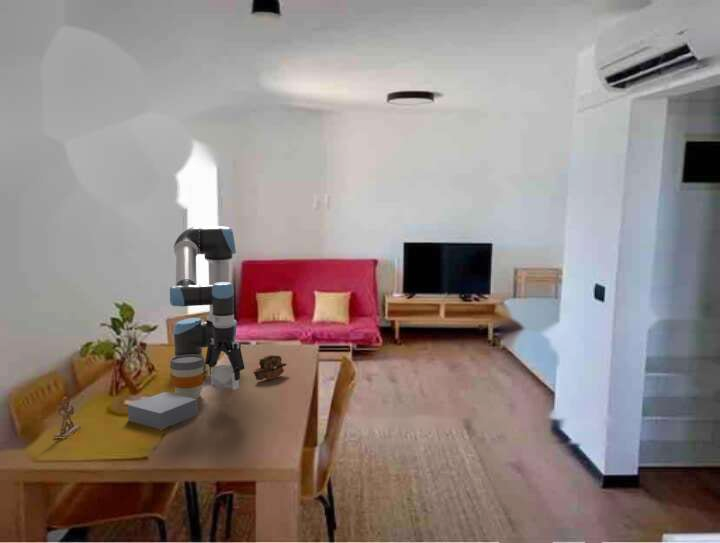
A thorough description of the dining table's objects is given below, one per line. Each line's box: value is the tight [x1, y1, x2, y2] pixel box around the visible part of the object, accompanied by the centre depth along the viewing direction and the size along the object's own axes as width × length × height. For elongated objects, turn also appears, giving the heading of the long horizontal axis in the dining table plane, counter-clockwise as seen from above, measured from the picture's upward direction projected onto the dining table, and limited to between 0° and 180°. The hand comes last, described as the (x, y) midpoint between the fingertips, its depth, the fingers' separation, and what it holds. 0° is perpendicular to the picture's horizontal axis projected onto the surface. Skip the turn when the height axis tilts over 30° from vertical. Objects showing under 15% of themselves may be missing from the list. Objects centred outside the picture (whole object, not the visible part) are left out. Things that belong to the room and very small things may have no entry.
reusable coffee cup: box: [169, 355, 205, 399], centre depth 219 cm, size 13×13×15 cm
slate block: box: [127, 391, 198, 430], centre depth 198 cm, size 16×16×6 cm
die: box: [212, 364, 234, 389], centre depth 207 cm, size 8×9×10 cm
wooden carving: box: [253, 354, 287, 381], centre depth 242 cm, size 16×5×10 cm, turn 143°
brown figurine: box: [53, 396, 81, 438], centre depth 184 cm, size 9×4×12 cm, turn 176°
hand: (225, 386), depth 207 cm, fingers closed on die, 9 cm apart
